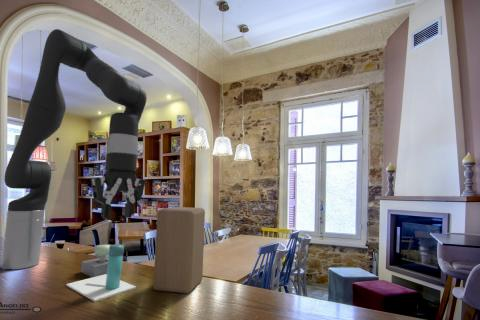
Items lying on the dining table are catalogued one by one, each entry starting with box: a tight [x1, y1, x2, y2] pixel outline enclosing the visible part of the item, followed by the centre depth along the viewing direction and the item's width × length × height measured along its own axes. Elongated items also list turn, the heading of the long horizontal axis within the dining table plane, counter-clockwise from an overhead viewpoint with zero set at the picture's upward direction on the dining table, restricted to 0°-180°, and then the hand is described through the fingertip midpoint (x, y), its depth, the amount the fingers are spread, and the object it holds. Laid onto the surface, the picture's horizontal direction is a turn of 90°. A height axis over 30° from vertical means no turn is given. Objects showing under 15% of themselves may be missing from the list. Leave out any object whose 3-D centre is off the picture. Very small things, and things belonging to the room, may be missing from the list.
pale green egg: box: [94, 244, 111, 263], centre depth 77 cm, size 4×4×6 cm
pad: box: [66, 274, 137, 302], centre depth 65 cm, size 15×10×1 cm, turn 55°
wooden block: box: [152, 206, 206, 294], centre depth 68 cm, size 10×10×20 cm
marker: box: [105, 243, 125, 290], centre depth 64 cm, size 3×3×10 cm
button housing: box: [80, 255, 122, 278], centre depth 77 cm, size 8×8×3 cm
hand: (117, 218), depth 66 cm, fingers open, 5 cm apart
